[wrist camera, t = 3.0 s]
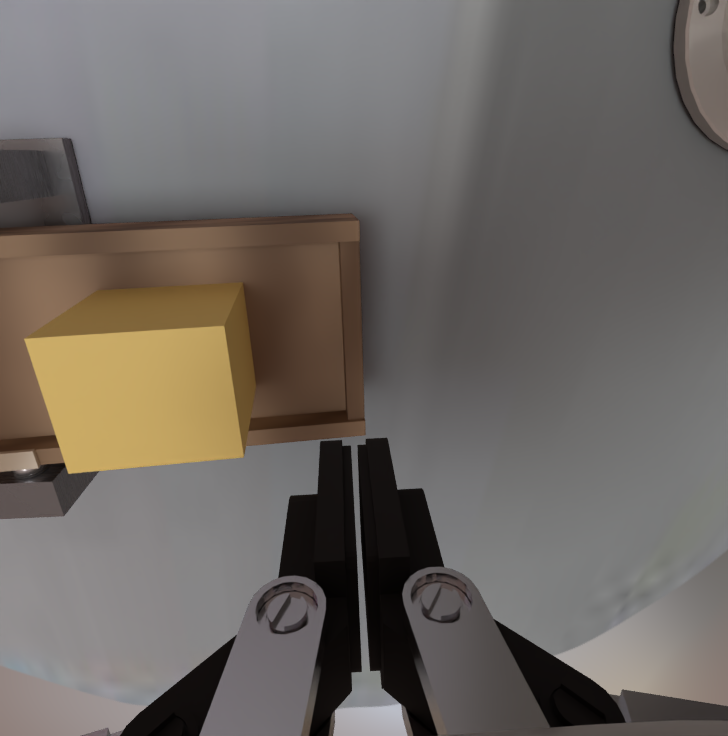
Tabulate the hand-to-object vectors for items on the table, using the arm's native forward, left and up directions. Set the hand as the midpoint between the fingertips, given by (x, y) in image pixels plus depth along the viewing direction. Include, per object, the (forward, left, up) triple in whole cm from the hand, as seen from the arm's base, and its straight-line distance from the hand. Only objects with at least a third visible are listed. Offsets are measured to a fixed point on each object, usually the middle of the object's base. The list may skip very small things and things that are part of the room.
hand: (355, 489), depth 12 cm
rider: (+8, 0, -11) cm, 13 cm away
